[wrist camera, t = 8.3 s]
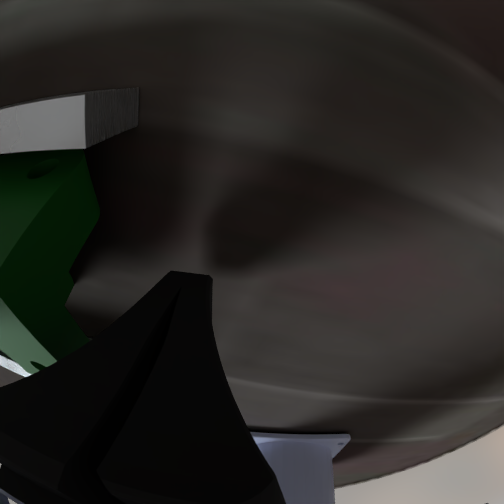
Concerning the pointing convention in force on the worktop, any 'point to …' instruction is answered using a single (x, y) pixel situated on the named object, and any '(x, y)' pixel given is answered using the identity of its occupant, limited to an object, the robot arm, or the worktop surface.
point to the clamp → (42, 252)
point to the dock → (65, 131)
